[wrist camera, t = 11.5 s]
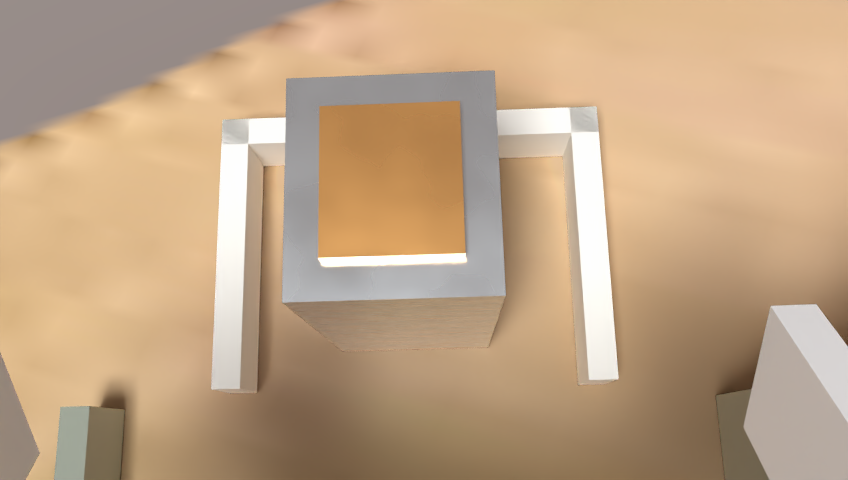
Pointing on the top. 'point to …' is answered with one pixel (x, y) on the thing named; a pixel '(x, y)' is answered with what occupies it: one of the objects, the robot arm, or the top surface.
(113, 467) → the case
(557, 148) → the dock
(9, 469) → the robot arm
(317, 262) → the block
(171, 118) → the top surface
